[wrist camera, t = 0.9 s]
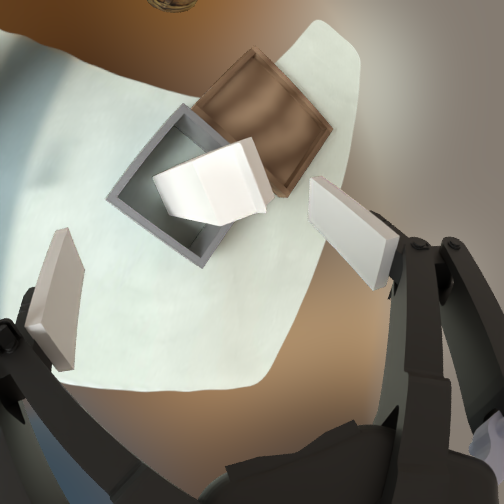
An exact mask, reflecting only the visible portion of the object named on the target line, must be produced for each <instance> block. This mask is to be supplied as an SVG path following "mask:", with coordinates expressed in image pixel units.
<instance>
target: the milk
mask: <svg viewBox="0 0 504 504" xmlns="http://www.w3.org/2000/svg"><path fill="white" fill-rule="evenodd" d="M152 179H153V181H154V183H155V185H156V188H157V190H158V192H159V194H160V197H161V199H162V201H163V203H164V205H165V208H166V210H167V212H168V214H169V215H171V216H175V217H180V218H185V219H189V220H194V221H198V222H203V223H208V224H212V225H217V226H223V225H226V224H228V223H231V222H234V221H236V220H239V219H242V218H244V217H247V216H250V215H253V214H255V213H266V212H267V208H266V205H267V204H268V203H269V202H271V201H272V200H273V199H274V198H275V196H274V194H273V191H272V188H271V186H270V183H269V180H268V178H267V175H266V172H265V170H264V167H263V165H262V162H261V159H260V157H259V154H258V152H257V149H256V147H255V144H254V141H253V139H252V137H249V138H246V139H243V140H240V141H237V142H235V143H232V144H229V145H226V146H224V147H221V148H218V149H216V150H213V151H210V152H208V153H205V154H202V155H200V156H197V157H195V158H192V159H190V160H187V161H185V162H183V163H181V164H178V165H176V166H174V167H172V168H170V169H168V170H165V171H163V172H161V173H159V174H157V175H155V176H153V177H152Z"/></svg>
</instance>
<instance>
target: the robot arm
mask: <svg viewBox="0 0 504 504" xmlns="http://www.w3.org/2000/svg"><path fill="white" fill-rule="evenodd" d="M308 221H309V222H310V223H311V224H312V225H313V226H314V227H315V228H316V229H317V230H318V231H319V232H320V233H321V234H322V235H323V237H324V238H325V239H326V240H327V241H328V242H329V243H330V244H331V245H332V246H333V247H334V248H335V249H336V250H337V251H338V253H339V254H340V255H341V256H342V257H343V258H344V259H345V260H346V261H347V262H348V263H349V264H350V266H351V267H352V268H353V269H354V270H355V271H356V272H357V273H358V274H359V276H360V277H361V278H362V279H363V280H364V281H365V282H366V283H367V285H368V286H369V287H370V288H371V289H372V290H373V291H374V290H377V289H379V288H382V287H385V286H386V284H387V280H388V277H389V276H390V277H391V278H392V279H393V280H394V282H393V285H392V288H391V291H390V294H389V297H388V299H390V298H391V310H390V323H389V335H388V345H387V354H386V362H385V370H384V377H383V384H382V390H381V396H380V402H379V408H378V412H377V415H376V417H375V419H374V422H373V425H359V426H357V424H356V423H355V421H354V420H352V421H350V422H348V423H346V424H343V425H341V426H339V427H336V428H334V429H332V430H330V431H328V432H325V433H324V434H322V435H321V436H320V437H318V438H317V439H316V440H314V441H313V442H312V443H310V444H309V445H307V446H306V447H304V448H303V449H302V450H300V451H298V452H296V453H292V454H283V455H275V456H263V457H256V458H253V459H250V460H246V461H243V462H239V463H236V464H232V465H228V466H225V468H226V471H227V473H225V474H223V475H221V476H220V477H218V478H217V479H215V480H214V481H213V482H212V483H210V484H209V485H208V486H207V487H206V488H205V490H204V491H203V492H202V494H201V495H200V497H199V498H198V500H197V499H195V498H193V497H192V496H190V495H189V494H187V493H186V492H184V491H183V490H181V489H180V488H178V487H177V486H175V485H174V484H172V483H171V482H169V481H168V480H167V479H165V478H164V477H163V476H161V475H160V474H159V473H157V472H156V471H155V470H153V469H152V468H151V467H149V466H148V465H146V464H145V463H144V462H143V461H142V460H140V459H139V458H138V457H137V456H135V455H134V454H133V453H132V452H131V451H129V450H128V449H127V448H126V447H125V446H123V445H122V444H121V443H120V442H119V441H118V440H117V439H115V438H114V437H113V436H112V435H111V434H110V433H109V432H108V431H107V430H106V429H104V428H103V427H102V426H101V425H100V424H99V423H98V422H97V421H96V420H95V419H94V418H93V417H92V416H91V415H90V414H89V413H88V412H87V411H86V410H85V409H84V408H83V407H82V406H81V405H80V404H79V403H78V402H77V401H76V400H75V399H74V397H73V396H72V395H70V393H69V392H68V391H67V390H66V389H65V388H64V386H63V385H62V384H61V383H60V382H59V381H58V380H57V378H56V377H55V376H54V375H53V374H52V373H51V368H52V364H53V366H54V367H55V368H56V369H57V371H58V372H62V371H68V370H74V362H75V347H76V335H77V324H78V315H79V307H80V299H81V292H82V285H83V279H84V273H85V269H84V266H83V264H82V262H81V259H80V257H79V254H78V252H77V249H76V247H75V244H74V242H73V239H72V236H71V234H70V231H69V228H68V227H67V228H63V229H60V230H56V231H55V233H54V236H53V238H52V241H51V243H50V246H49V249H48V251H47V254H46V257H45V260H44V262H43V265H42V268H41V271H40V274H39V277H38V280H37V284H36V287H32V288H29V289H28V291H27V292H26V294H25V295H24V297H23V300H22V303H21V307H20V310H19V314H18V317H17V320H16V324H14V323H13V321H12V320H11V319H8V318H4V319H1V320H0V504H70V503H69V502H68V500H67V498H66V497H65V495H64V493H63V491H62V490H61V488H60V486H59V484H58V482H57V480H56V478H55V477H54V475H53V473H52V471H51V469H50V467H49V465H48V463H47V461H46V458H45V456H44V454H43V452H42V450H41V448H40V446H39V443H38V441H37V438H36V436H35V433H34V431H33V429H32V426H31V424H30V421H29V418H28V416H27V413H26V410H25V407H24V404H23V401H22V399H25V398H26V399H27V401H28V402H29V403H30V405H31V406H32V408H33V409H34V410H35V412H36V413H37V415H38V416H39V417H40V419H41V420H42V421H43V423H44V424H45V425H46V426H47V428H48V429H49V430H50V432H51V433H52V434H53V435H54V437H55V438H56V439H57V440H58V441H59V443H60V444H61V445H62V446H63V448H64V449H65V450H66V451H67V452H68V453H69V454H70V456H71V457H72V458H73V459H74V460H75V461H76V462H77V463H78V464H79V465H80V466H81V468H82V469H83V470H84V471H85V472H86V473H87V474H88V475H89V476H90V477H91V478H92V479H93V480H94V481H95V482H96V483H97V484H98V485H99V486H100V487H101V488H102V489H104V490H105V491H106V492H107V493H108V494H109V496H110V500H111V501H112V502H113V503H114V504H499V499H498V485H499V484H500V483H501V482H502V481H503V480H504V314H503V312H502V310H501V308H500V306H499V304H498V302H497V300H496V298H495V296H494V294H493V292H492V291H491V289H490V287H489V285H488V283H487V281H486V280H485V278H484V276H483V275H482V272H481V271H480V269H479V267H478V266H477V264H476V262H475V261H474V259H473V257H472V256H471V254H470V252H469V251H468V249H467V248H466V246H465V245H464V244H463V243H462V242H461V241H459V239H457V238H454V237H445V238H443V240H442V243H441V246H431V245H430V244H429V243H428V242H427V241H425V240H423V239H421V238H418V237H410V238H408V237H407V236H406V235H405V234H403V233H402V232H401V231H400V230H398V229H397V228H396V227H394V225H392V224H391V223H390V222H389V221H386V219H385V218H383V217H382V216H381V215H380V214H378V213H375V212H373V211H368V210H367V209H365V208H364V207H363V206H362V205H361V204H359V203H358V202H357V201H355V200H354V199H353V198H351V197H350V196H349V195H347V194H346V193H345V192H344V191H342V190H341V189H340V188H338V187H337V186H336V185H334V184H333V183H331V182H330V181H329V180H327V179H326V178H325V177H323V176H315V177H310V189H309V207H308ZM453 281H454V283H453ZM441 325H442V328H443V331H444V334H445V337H446V340H447V343H448V346H449V349H450V353H451V357H452V360H453V364H454V367H455V370H456V374H457V378H458V382H459V386H460V390H461V394H462V399H463V403H464V407H465V412H466V415H467V419H468V423H469V425H470V428H471V431H472V433H473V442H472V443H471V444H470V446H469V453H470V454H471V455H472V456H475V457H472V456H468V455H465V454H462V453H459V452H455V451H452V450H449V449H448V448H449V436H450V421H451V382H450V380H449V379H448V378H444V376H443V347H442V328H441Z"/></svg>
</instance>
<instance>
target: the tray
mask: <svg viewBox="0 0 504 504" xmlns="http://www.w3.org/2000/svg"><path fill="white" fill-rule="evenodd" d="M191 110H192V111H193V112H195V113H196V114H197V115H198V116H199V117H200V118H201V119H203V120H204V121H205V122H206V123H207V124H208V125H210V126H211V127H212V128H213V129H214V130H215V131H216V132H217V133H219V134H220V135H221V136H222V137H223V138H224V139H225V140H226V141H228V142H229V143H230V144H232V143H235V142H237V141H240V140H243V139H246V138H249V137H252V139H253V141H254V144H255V147H256V149H257V152H258V154H259V157H260V159H261V162H262V165H263V167H264V170H265V172H266V175H267V178H268V180H269V183H270V186H271V188H272V191H273V192H274V193H275V194H276V195H277V196H278V197H283V198H288V196H289V195H290V193H291V192H292V190H293V189H294V187H295V186H296V184H297V183H298V181H299V180H300V178H301V177H302V175H303V174H304V172H305V171H306V169H307V168H308V166H309V165H310V163H311V162H312V160H313V159H314V157H315V156H316V154H317V153H318V151H319V150H320V148H321V147H322V145H323V144H324V142H325V141H326V139H327V138H328V136H329V135H330V133H331V132H332V130H333V128H332V127H331V126H330V124H329V123H328V122H327V121H326V120H325V118H324V117H323V116H322V115H321V114H320V113H319V111H318V110H317V109H316V108H315V107H314V106H313V105H312V103H311V102H310V101H309V100H308V99H307V98H306V97H305V96H304V95H303V93H302V92H301V91H300V90H299V89H298V88H297V87H296V86H295V85H294V84H293V83H292V82H291V81H290V80H289V78H288V77H287V76H286V75H285V74H284V73H283V72H282V71H281V70H280V69H279V68H278V67H277V66H276V65H275V64H274V63H273V62H272V61H271V60H270V59H269V58H268V57H267V56H266V55H265V54H264V53H263V52H262V51H261V50H260V49H258V48H257V47H256V46H254V47H253V48H251V49H250V50H249V51H247V52H246V53H245V54H244V55H243V56H242V57H241V58H240V59H239V60H238V61H237V62H236V63H235V64H233V65H232V66H231V67H230V68H229V69H228V70H227V71H226V72H225V73H224V74H223V75H222V76H221V77H220V78H219V79H218V80H217V81H216V82H215V83H214V84H213V85H212V86H211V87H210V89H208V91H207V92H206V93H205V94H204V95H203V96H202V97H201V98H200V99H199V100H198V101H197V102H196V103H195V104H194V105H193V107H192V108H191Z"/></svg>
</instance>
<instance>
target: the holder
mask: <svg viewBox="0 0 504 504" xmlns="http://www.w3.org/2000/svg"><path fill="white" fill-rule="evenodd" d="M173 125H174V126H175V127H177V128H178V129H179V130H180V131H181V132H183V133H184V134H185V135H186V136H187V137H189V138H190V139H191V140H192V141H193V142H194V143H196V144H197V145H198V146H199V147H200V148H202V149H203V150H204V151H205V152H206V153H208V152H210V151H213V150H216V149H218V148H221V147H224V146H226V145H229V144H230V143H229V142H228V141H226V140H225V139H224V138H223V137H222V136H221V135H220V134H219V133H217V132H216V131H215V130H214V129H213V128H212V127H211V126H210V125H208V124H207V123H206V122H205V121H204V120H203V119H201V118H200V117H199V116H198V115H197V114H196V113H195V112H193V111H192V110H191V109H190V108H189V107H188V106H186V105H185V104H184V103H183V104H182V105H181V106H180V107H179V108H178V109H177V110H176V111H175V112H174V113H173V114H172V115H171V116H170V117H169V118H168V119H167V121H166V122H165V123H164V124H163V125H162V126H161V127H160V129H159V130H158V131H157V132H156V133H155V134H154V136H153V137H152V138H151V139H150V140H149V142H148V143H147V144H146V145H145V147H144V148H143V149H142V150H141V152H140V153H139V154H138V155H137V157H136V158H135V159H134V160H133V162H132V163H131V164H130V166H129V167H128V168H127V169H126V171H125V172H124V173H123V175H122V176H121V177H120V179H119V180H118V181H117V183H116V184H115V186H114V187H113V188H112V190H111V191H110V193H109V194H108V195H107V197H106V198H105V200H106V201H107V202H109V203H110V204H111V205H113V206H114V207H116V208H117V209H118V210H120V211H121V212H122V213H124V214H125V215H126V216H128V217H129V218H130V219H132V220H133V221H134V222H136V223H137V224H139V225H140V226H141V227H143V228H144V229H146V230H147V231H148V232H150V233H151V234H152V235H154V236H155V237H157V238H158V239H159V240H161V241H162V242H164V243H165V244H166V245H168V246H169V247H171V248H172V249H174V250H175V251H176V252H178V253H179V254H181V255H182V256H183V257H185V258H186V259H188V260H189V261H191V262H192V263H194V264H196V265H197V266H199V267H200V268H202V269H203V267H204V266H205V264H206V263H207V261H208V260H209V258H210V257H211V255H212V254H213V252H214V251H215V249H216V248H217V246H218V245H219V244H220V242H221V241H222V239H223V238H224V236H225V235H226V233H227V232H228V230H229V229H230V227H231V226H232V225H233V223H234V222H235V221H234V222H231V223H228V224H226V225H223V226H217V225H212V224H208V223H206V224H205V226H204V227H203V229H202V230H201V232H200V233H199V234H198V236H197V237H196V239H195V240H194V242H193V243H192V245H191V246H190V248H189V249H187V248H186V247H184V246H183V245H182V244H180V243H179V242H177V241H176V240H175V239H173V238H172V237H171V236H169V235H168V234H166V233H165V232H164V231H162V230H161V229H160V228H158V227H157V226H155V225H154V224H153V223H151V222H150V221H149V220H147V219H146V218H145V217H143V216H142V215H141V214H139V213H138V212H136V211H135V210H134V209H132V208H131V207H130V206H128V205H127V204H126V203H124V202H123V201H122V200H120V199H119V198H118V195H119V194H120V193H121V191H122V190H123V188H124V187H125V186H126V184H127V183H128V182H129V180H130V179H131V178H132V176H133V175H134V174H135V172H136V171H137V170H138V168H139V167H140V166H141V164H142V163H143V162H144V161H145V159H146V158H147V157H148V156H149V154H150V153H151V152H152V151H153V149H154V148H155V147H156V146H157V144H158V143H159V142H160V141H161V140H162V138H163V137H164V136H165V135H166V134H167V132H168V131H169V130H170V129H171V128H172V127H173Z"/></svg>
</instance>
